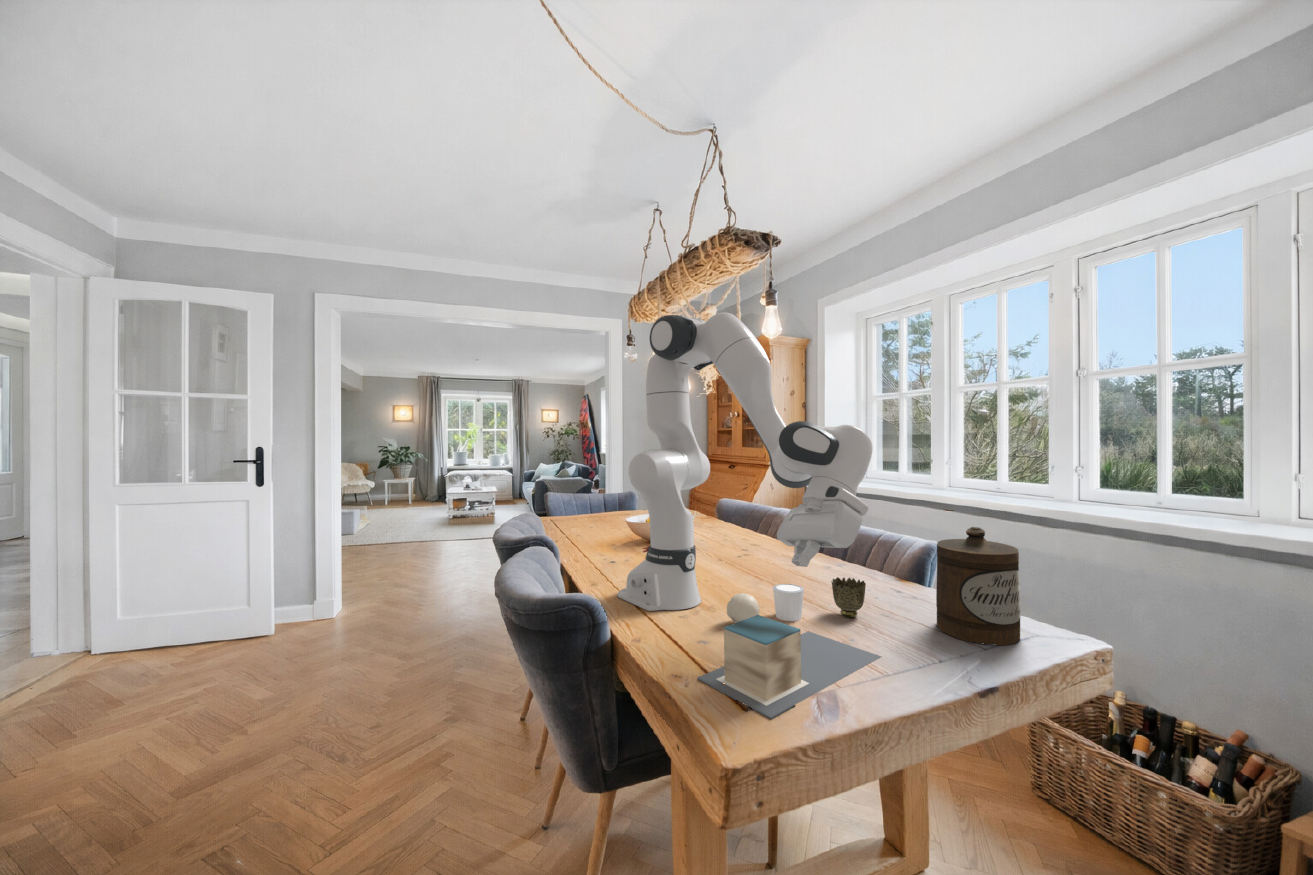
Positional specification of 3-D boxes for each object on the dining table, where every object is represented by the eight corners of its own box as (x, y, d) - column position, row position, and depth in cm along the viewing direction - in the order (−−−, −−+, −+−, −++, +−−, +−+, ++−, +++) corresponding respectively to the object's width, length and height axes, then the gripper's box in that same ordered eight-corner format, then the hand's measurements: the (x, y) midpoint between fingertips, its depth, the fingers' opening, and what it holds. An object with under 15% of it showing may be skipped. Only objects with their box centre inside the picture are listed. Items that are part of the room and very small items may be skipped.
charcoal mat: (808, 632, 106) (808, 631, 106) (881, 658, 93) (881, 656, 93) (697, 679, 86) (697, 677, 86) (771, 719, 74) (771, 717, 74)
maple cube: (723, 626, 85) (724, 679, 85) (765, 643, 78) (766, 700, 78) (758, 614, 91) (759, 664, 91) (800, 629, 84) (801, 682, 84)
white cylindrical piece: (805, 624, 111) (805, 592, 111) (773, 622, 112) (773, 591, 112) (803, 613, 117) (802, 583, 117) (772, 612, 119) (772, 582, 119)
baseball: (721, 620, 114) (721, 591, 114) (751, 617, 115) (751, 588, 115) (733, 631, 107) (733, 600, 107) (764, 628, 109) (764, 597, 109)
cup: (863, 623, 110) (863, 587, 110) (829, 618, 114) (828, 583, 114) (868, 613, 117) (867, 579, 117) (835, 608, 120) (834, 575, 120)
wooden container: (980, 650, 96) (979, 536, 96) (921, 623, 110) (919, 523, 110) (1039, 640, 100) (1037, 531, 100) (974, 615, 114) (972, 519, 114)
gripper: (785, 496, 106) (758, 554, 102) (848, 488, 87) (817, 558, 83) (808, 512, 107) (782, 570, 103) (875, 507, 88) (847, 577, 84)
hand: (798, 564), depth 93 cm, fingers closed
